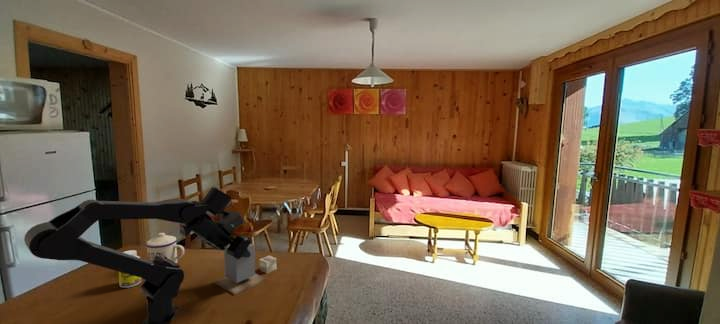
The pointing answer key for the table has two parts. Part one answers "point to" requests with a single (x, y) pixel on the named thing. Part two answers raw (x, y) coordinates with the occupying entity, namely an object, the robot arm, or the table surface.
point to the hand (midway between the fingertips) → (243, 253)
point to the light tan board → (239, 283)
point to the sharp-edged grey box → (240, 265)
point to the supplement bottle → (128, 275)
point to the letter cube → (267, 264)
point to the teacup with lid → (164, 247)
